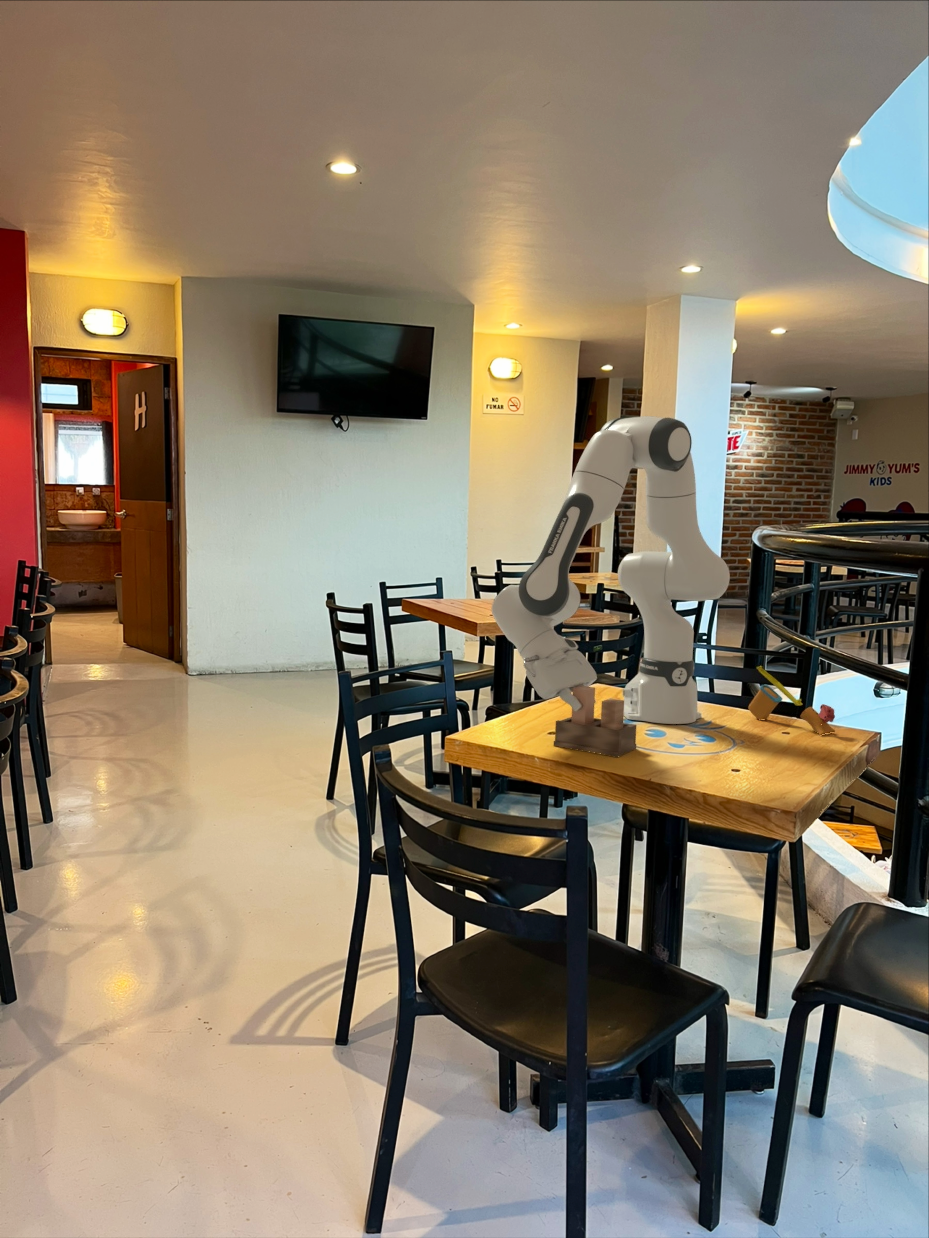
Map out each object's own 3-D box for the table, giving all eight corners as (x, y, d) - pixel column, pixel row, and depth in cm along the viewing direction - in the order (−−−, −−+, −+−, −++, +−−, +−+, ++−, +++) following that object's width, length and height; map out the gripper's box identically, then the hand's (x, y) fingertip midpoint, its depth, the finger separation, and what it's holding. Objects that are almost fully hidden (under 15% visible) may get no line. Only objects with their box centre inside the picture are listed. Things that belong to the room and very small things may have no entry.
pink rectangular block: (571, 732, 184) (572, 688, 183) (580, 728, 187) (581, 685, 186) (584, 734, 182) (586, 690, 181) (593, 731, 185) (595, 687, 184)
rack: (553, 745, 183) (555, 697, 182) (574, 737, 191) (576, 691, 190) (617, 757, 176) (619, 706, 175) (636, 748, 183) (638, 699, 182)
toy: (744, 697, 222) (775, 650, 214) (811, 763, 208) (846, 715, 200) (730, 699, 219) (761, 652, 210) (797, 766, 205) (832, 718, 197)
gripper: (530, 649, 178) (572, 705, 174) (578, 640, 195) (617, 690, 191) (509, 669, 181) (551, 724, 177) (558, 658, 198) (597, 708, 193)
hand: (586, 706), depth 184 cm, fingers closed on pink rectangular block, 4 cm apart
